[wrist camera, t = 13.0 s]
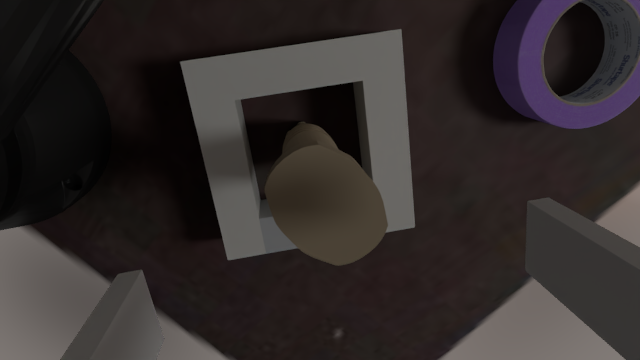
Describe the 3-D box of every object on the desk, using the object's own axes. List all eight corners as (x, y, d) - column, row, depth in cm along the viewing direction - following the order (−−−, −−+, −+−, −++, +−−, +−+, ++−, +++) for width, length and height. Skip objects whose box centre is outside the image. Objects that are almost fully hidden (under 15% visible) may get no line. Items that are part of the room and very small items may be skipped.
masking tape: (614, 114, 36) (652, 121, 32) (487, 127, 35) (512, 136, 31) (636, -33, 32) (682, -43, 29) (495, -22, 31) (524, -31, 28)
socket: (232, 237, 35) (227, 260, 32) (191, 60, 31) (180, 61, 27) (400, 208, 36) (414, 227, 33) (386, 31, 31) (401, 29, 28)
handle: (307, 186, 35) (331, 281, 21) (256, 129, 33) (243, 192, 19) (351, 149, 34) (407, 222, 20) (301, 90, 32) (324, 124, 18)
